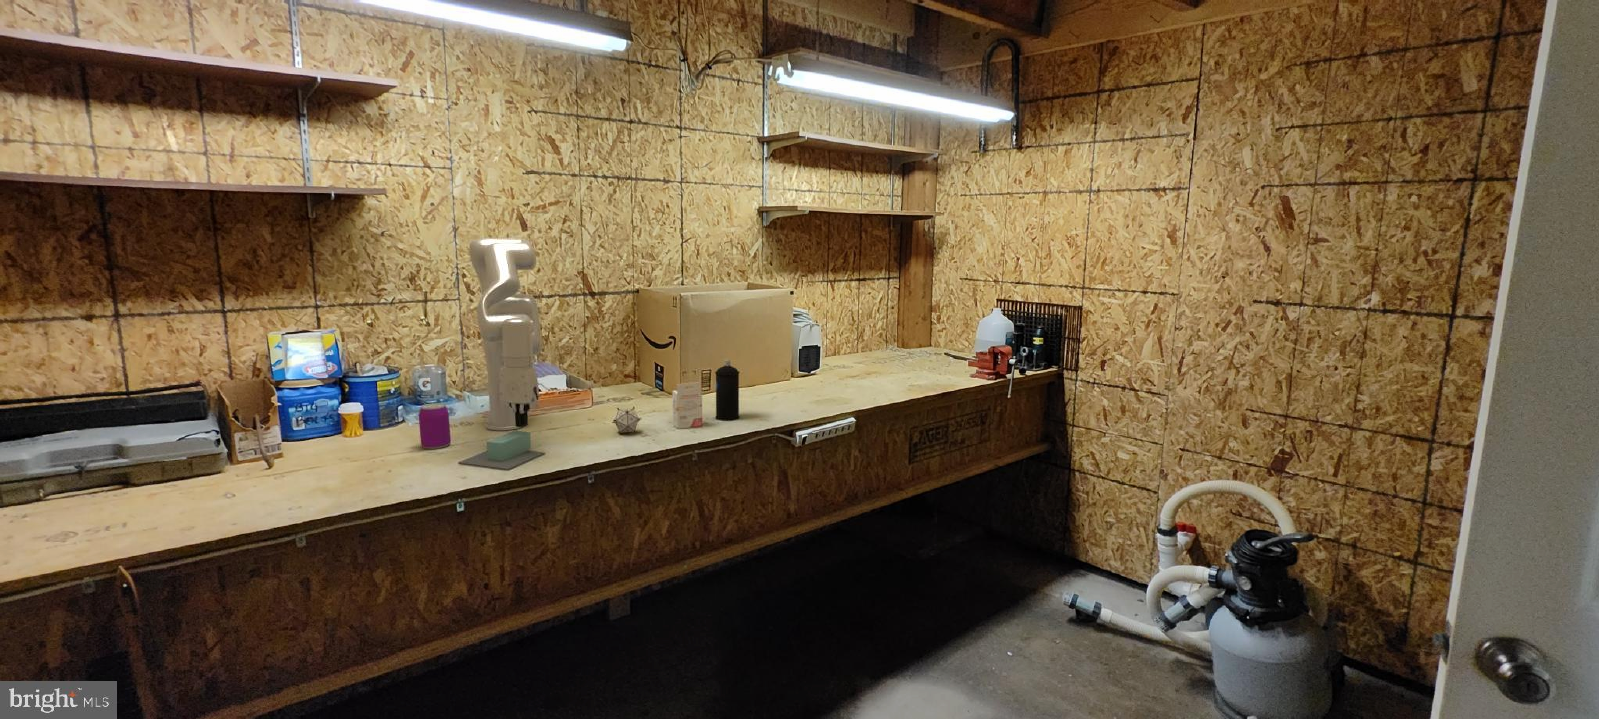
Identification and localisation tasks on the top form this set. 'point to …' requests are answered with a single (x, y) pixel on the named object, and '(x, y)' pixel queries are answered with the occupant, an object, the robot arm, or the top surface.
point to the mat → (508, 464)
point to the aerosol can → (727, 392)
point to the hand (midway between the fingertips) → (521, 425)
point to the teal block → (509, 445)
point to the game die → (626, 420)
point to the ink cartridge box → (687, 406)
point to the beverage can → (434, 426)
